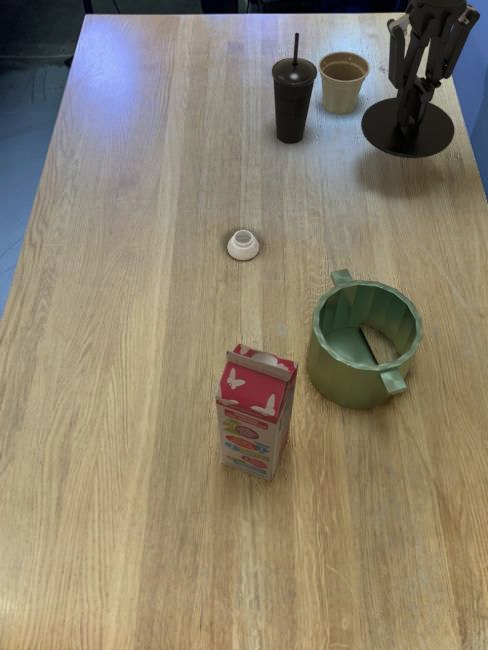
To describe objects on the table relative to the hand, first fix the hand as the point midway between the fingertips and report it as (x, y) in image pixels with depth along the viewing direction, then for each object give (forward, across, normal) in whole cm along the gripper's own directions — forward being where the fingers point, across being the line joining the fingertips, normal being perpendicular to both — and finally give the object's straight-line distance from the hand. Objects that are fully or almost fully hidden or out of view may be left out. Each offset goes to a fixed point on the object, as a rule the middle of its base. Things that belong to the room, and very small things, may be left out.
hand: (408, 120), depth 96 cm
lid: (+1, 0, 0) cm, 1 cm away
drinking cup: (+12, +14, -15) cm, 24 cm away
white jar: (+12, +30, +9) cm, 34 cm away
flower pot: (+12, +2, -21) cm, 24 cm away
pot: (+12, +21, +34) cm, 42 cm away
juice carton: (+12, +38, +42) cm, 58 cm away
